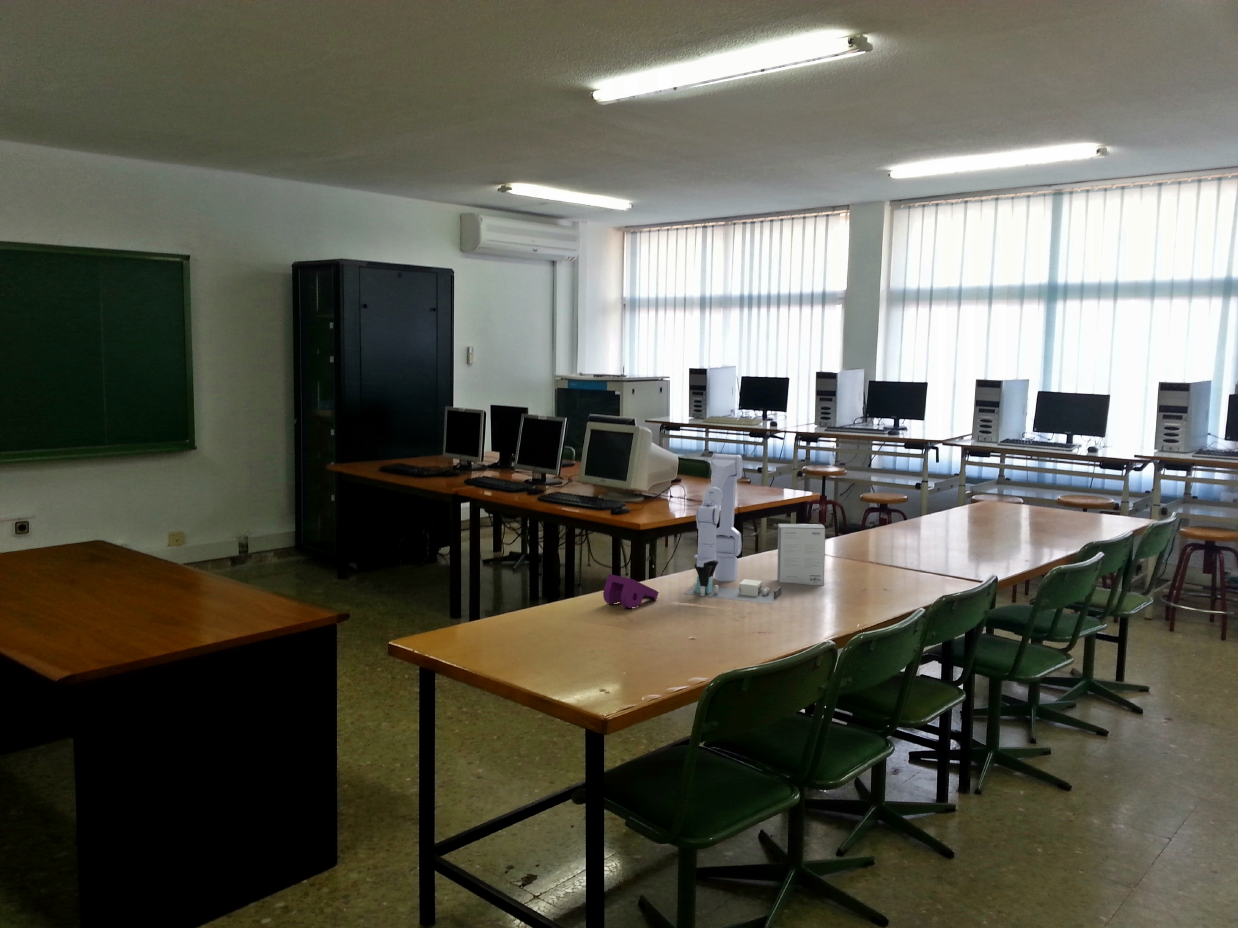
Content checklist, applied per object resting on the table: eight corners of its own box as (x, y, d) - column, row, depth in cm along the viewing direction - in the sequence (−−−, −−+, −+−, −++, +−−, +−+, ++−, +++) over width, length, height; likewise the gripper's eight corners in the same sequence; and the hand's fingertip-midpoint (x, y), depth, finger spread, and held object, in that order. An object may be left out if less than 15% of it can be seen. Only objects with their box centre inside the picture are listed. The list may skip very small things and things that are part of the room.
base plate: (697, 586, 313) (697, 575, 313) (781, 595, 303) (781, 584, 302) (683, 596, 300) (683, 585, 299) (770, 606, 289) (771, 594, 288)
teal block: (700, 589, 304) (700, 574, 303) (712, 590, 302) (712, 575, 301) (696, 592, 300) (696, 576, 299) (708, 593, 298) (708, 578, 298)
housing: (744, 589, 307) (744, 579, 306) (762, 591, 304) (762, 580, 304) (738, 594, 300) (739, 583, 300) (757, 596, 298) (757, 585, 298)
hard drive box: (821, 580, 324) (823, 524, 322) (824, 586, 316) (826, 528, 314) (776, 579, 325) (778, 522, 323) (777, 584, 318) (779, 526, 316)
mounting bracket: (633, 614, 300) (600, 600, 287) (641, 589, 302) (608, 573, 289) (656, 620, 294) (623, 605, 281) (664, 594, 296) (632, 578, 282)
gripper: (701, 538, 307) (700, 578, 309) (687, 545, 294) (687, 588, 295) (722, 539, 305) (721, 580, 306) (709, 547, 291) (708, 590, 293)
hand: (705, 584), depth 301 cm, fingers closed on teal block, 4 cm apart
